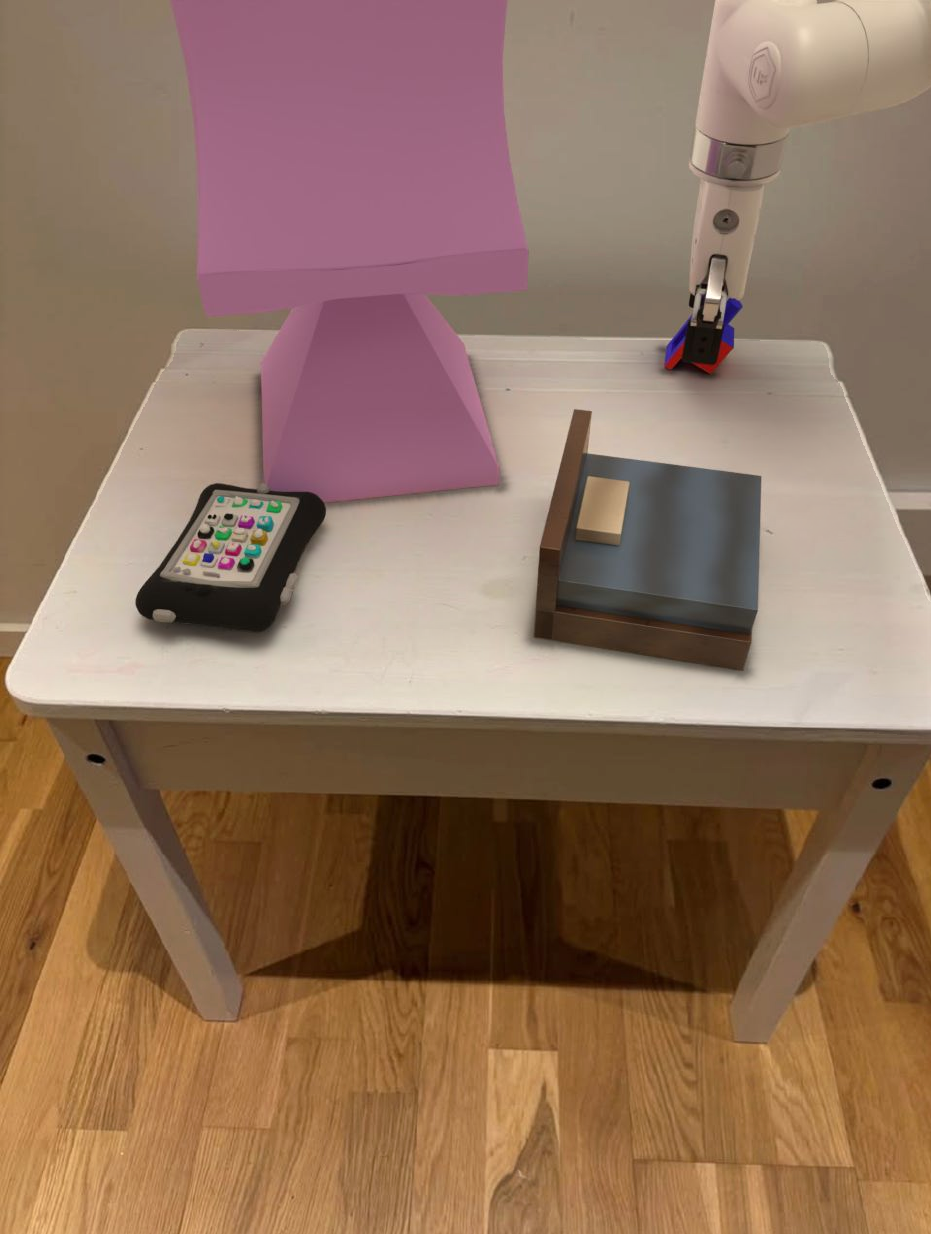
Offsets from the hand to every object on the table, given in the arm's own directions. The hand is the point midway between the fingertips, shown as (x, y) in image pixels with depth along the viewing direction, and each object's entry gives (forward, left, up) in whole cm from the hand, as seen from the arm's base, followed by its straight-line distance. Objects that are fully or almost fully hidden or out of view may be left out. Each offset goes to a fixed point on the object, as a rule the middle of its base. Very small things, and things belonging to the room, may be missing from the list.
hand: (701, 334), depth 95 cm
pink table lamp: (+28, +17, -3) cm, 33 cm away
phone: (+33, +37, -3) cm, 50 cm away
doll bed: (+2, +31, -3) cm, 31 cm away
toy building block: (0, 0, -3) cm, 3 cm away
